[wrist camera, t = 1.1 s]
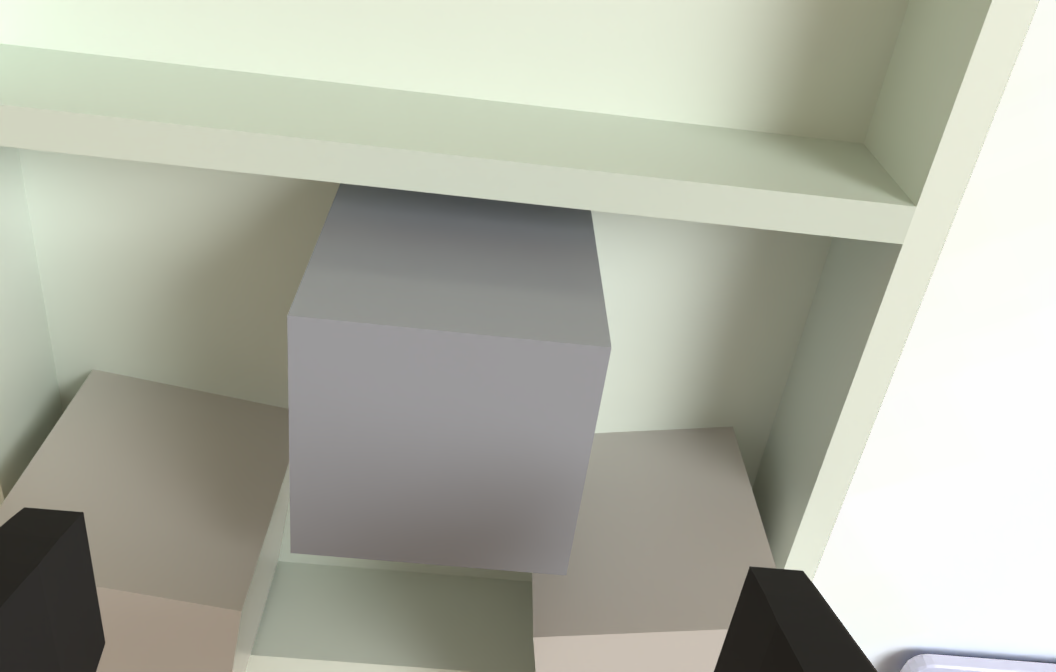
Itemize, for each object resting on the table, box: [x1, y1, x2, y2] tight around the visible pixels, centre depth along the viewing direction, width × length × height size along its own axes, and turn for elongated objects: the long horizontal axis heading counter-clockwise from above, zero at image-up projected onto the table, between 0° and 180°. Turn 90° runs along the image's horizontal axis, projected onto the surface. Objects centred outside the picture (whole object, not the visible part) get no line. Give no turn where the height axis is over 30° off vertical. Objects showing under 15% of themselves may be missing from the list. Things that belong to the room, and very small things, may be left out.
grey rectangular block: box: [287, 183, 612, 576], centre depth 15 cm, size 4×4×5 cm
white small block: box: [532, 427, 776, 672], centre depth 18 cm, size 4×4×5 cm
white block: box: [0, 369, 290, 672], centre depth 17 cm, size 4×4×5 cm
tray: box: [0, 0, 1040, 672], centre depth 15 cm, size 22×15×3 cm
